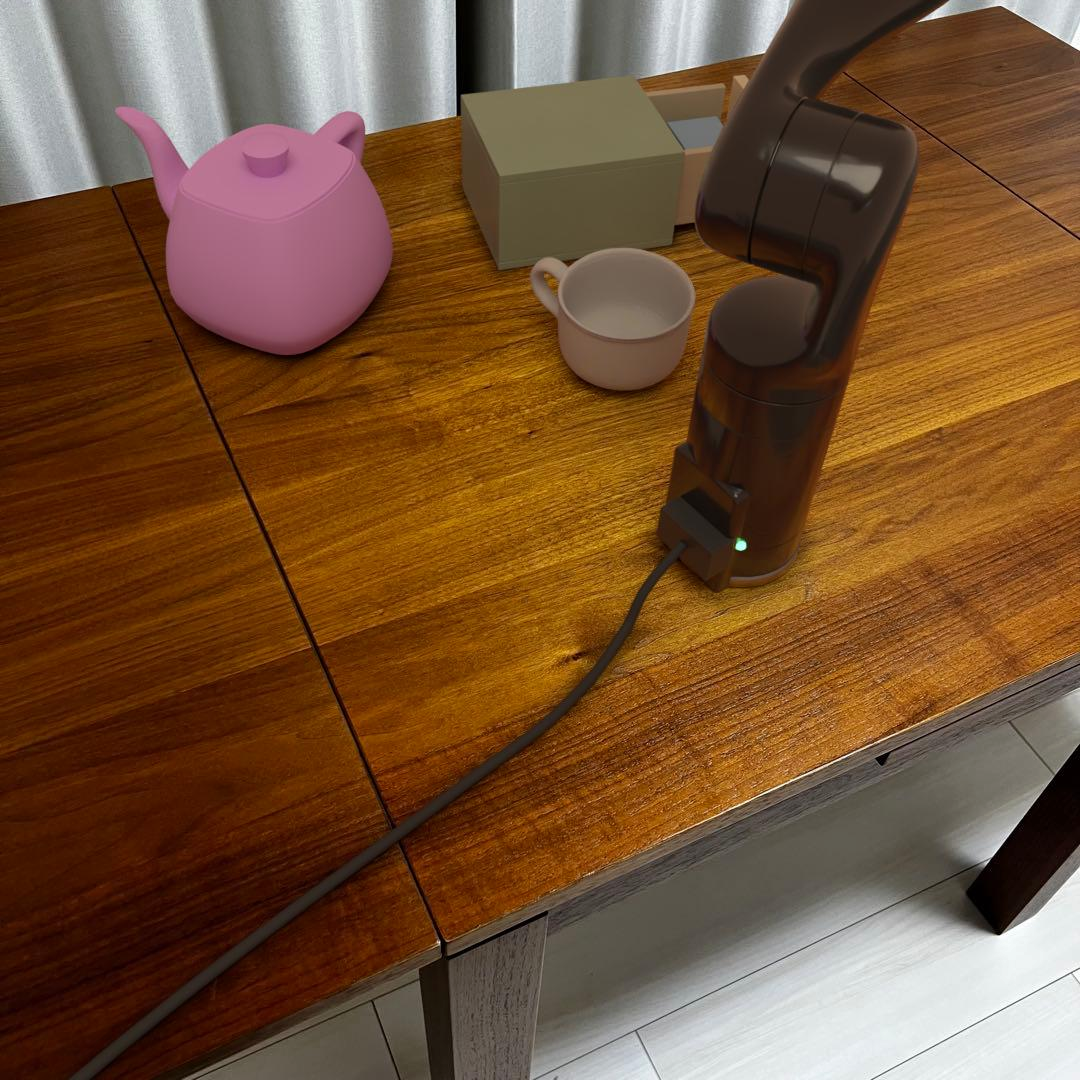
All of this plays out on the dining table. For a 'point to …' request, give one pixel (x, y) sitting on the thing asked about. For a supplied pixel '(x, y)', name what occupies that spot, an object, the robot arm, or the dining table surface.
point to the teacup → (619, 315)
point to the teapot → (271, 231)
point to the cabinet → (569, 170)
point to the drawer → (687, 107)
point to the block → (696, 132)
